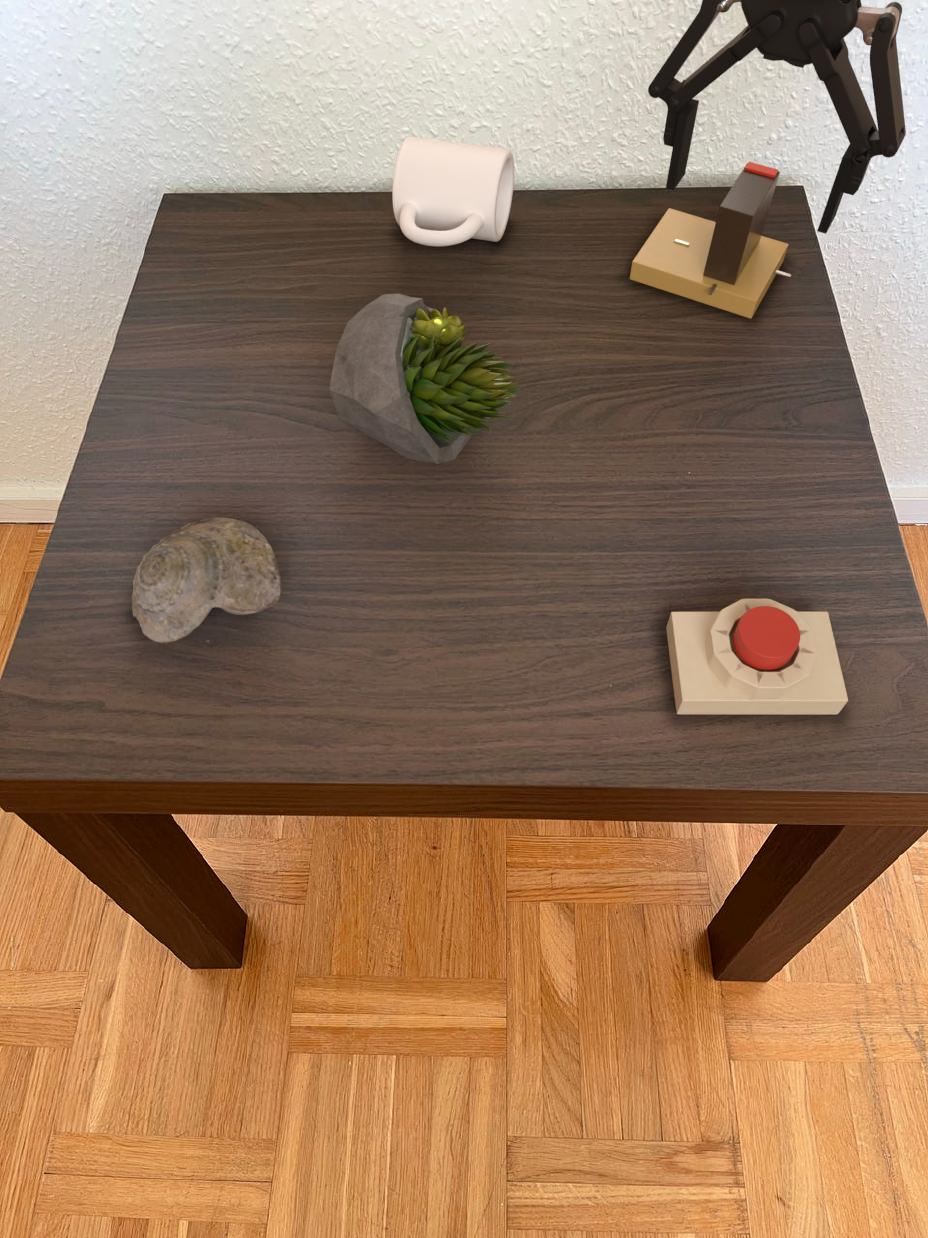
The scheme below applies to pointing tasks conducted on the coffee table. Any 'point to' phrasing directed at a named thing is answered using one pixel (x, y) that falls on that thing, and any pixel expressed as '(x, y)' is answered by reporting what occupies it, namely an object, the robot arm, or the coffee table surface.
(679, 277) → the plate
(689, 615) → the beige button housing
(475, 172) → the mug
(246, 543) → the fossilized seashell
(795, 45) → the robot arm
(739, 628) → the bell button
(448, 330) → the potted plant
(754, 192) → the lock turn
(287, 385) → the coffee table surface
